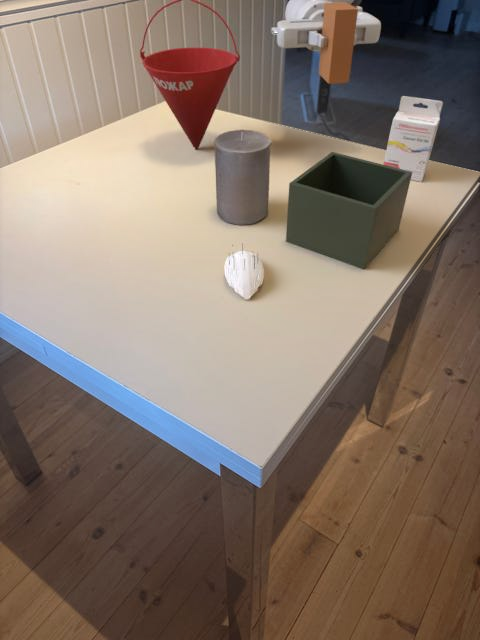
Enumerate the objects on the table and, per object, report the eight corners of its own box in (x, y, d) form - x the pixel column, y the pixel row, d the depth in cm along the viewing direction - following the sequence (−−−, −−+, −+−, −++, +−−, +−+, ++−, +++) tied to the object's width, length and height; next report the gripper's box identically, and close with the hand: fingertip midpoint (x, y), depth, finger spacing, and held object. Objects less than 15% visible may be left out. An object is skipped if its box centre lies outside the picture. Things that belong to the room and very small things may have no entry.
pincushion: (223, 256, 81) (221, 226, 77) (259, 254, 81) (260, 224, 77) (226, 302, 72) (225, 270, 68) (267, 299, 72) (268, 268, 68)
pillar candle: (215, 201, 95) (211, 123, 85) (265, 198, 96) (267, 120, 86) (218, 227, 88) (215, 145, 78) (272, 224, 88) (275, 142, 78)
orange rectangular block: (337, 72, 98) (345, 1, 90) (348, 82, 93) (358, 8, 85) (318, 73, 97) (324, 2, 89) (328, 84, 92) (335, 9, 84)
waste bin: (325, 206, 93) (331, 151, 86) (398, 229, 86) (412, 171, 79) (285, 241, 84) (289, 183, 77) (364, 269, 78) (376, 208, 70)
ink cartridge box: (380, 175, 103) (394, 102, 93) (385, 165, 106) (399, 94, 96) (422, 182, 100) (441, 108, 90) (426, 172, 103) (445, 100, 93)
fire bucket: (137, 162, 109) (112, 4, 89) (167, 129, 123) (151, -13, 103) (231, 171, 105) (227, 7, 85) (250, 136, 119) (251, -11, 99)
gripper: (269, 10, 97) (284, 24, 87) (367, 5, 99) (394, 19, 89) (268, 45, 101) (283, 63, 91) (363, 40, 103) (387, 57, 93)
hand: (338, 41), depth 90 cm, fingers closed on orange rectangular block, 4 cm apart
